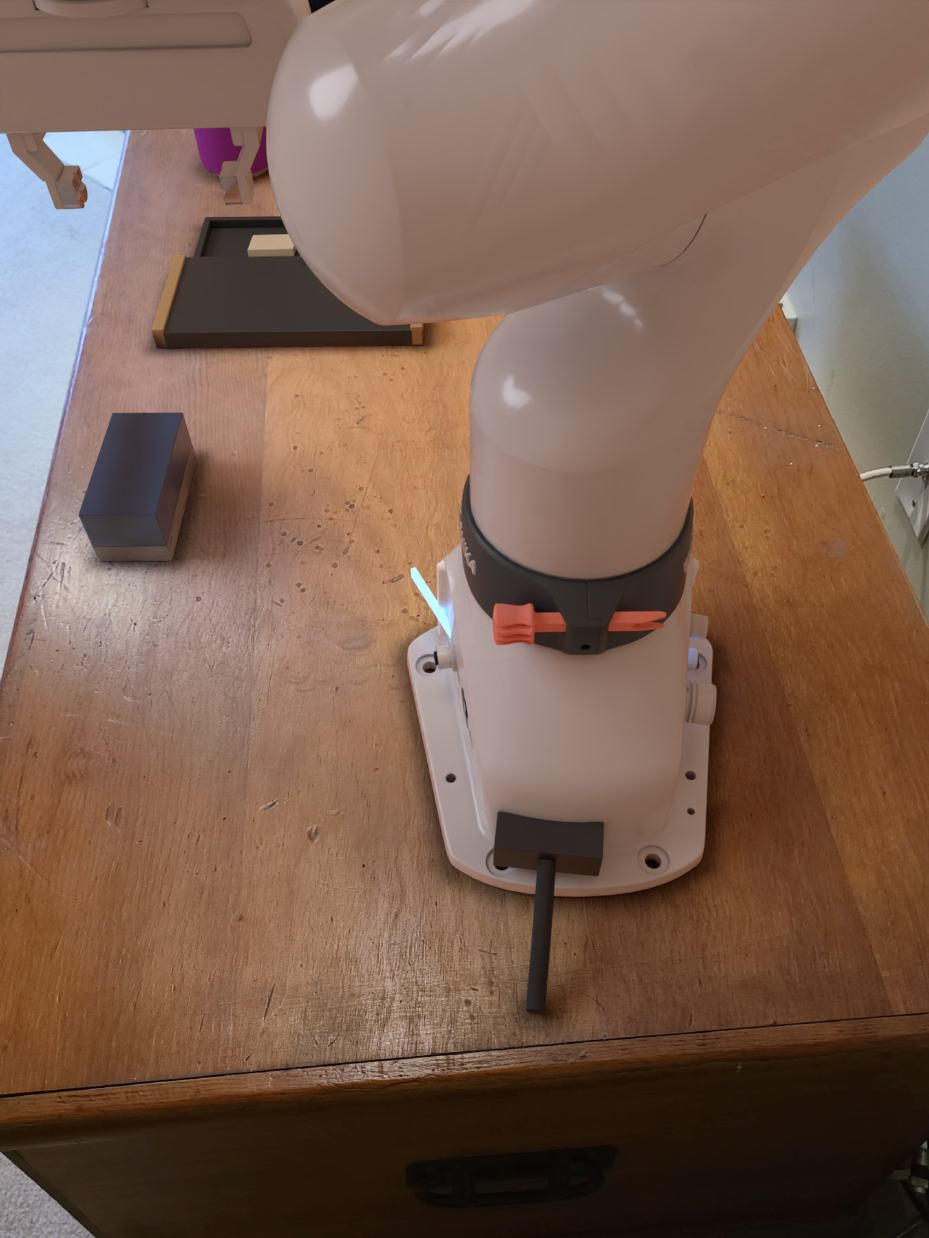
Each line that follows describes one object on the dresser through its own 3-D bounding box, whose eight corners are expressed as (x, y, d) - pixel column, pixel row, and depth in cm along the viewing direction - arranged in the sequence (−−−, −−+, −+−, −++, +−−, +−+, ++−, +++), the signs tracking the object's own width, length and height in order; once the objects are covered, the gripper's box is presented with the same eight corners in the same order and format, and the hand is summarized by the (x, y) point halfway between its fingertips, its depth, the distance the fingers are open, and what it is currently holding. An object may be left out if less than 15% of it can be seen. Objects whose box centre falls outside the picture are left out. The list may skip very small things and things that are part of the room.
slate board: (423, 345, 81) (422, 326, 80) (156, 348, 81) (150, 330, 80) (425, 269, 88) (424, 251, 86) (179, 272, 88) (174, 254, 86)
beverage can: (209, 146, 102) (182, 19, 93) (283, 145, 102) (263, 18, 92) (196, 184, 97) (166, 54, 88) (273, 184, 97) (252, 54, 88)
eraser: (197, 459, 73) (183, 412, 69) (172, 561, 67) (155, 514, 63) (129, 459, 73) (112, 412, 69) (98, 561, 67) (77, 515, 63)
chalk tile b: (294, 257, 87) (293, 248, 87) (248, 258, 87) (247, 249, 86) (298, 242, 90) (296, 233, 90) (254, 243, 90) (252, 235, 90)
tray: (409, 269, 88) (409, 258, 87) (195, 271, 88) (192, 260, 87) (412, 225, 92) (411, 214, 92) (207, 227, 92) (204, 216, 92)
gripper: (-179, -59, 43) (-45, 237, 54) (293, -71, 43) (331, 227, 54) (-128, -105, 47) (-13, 179, 57) (304, -117, 47) (338, 169, 58)
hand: (156, 202), depth 56 cm, fingers open, 8 cm apart
